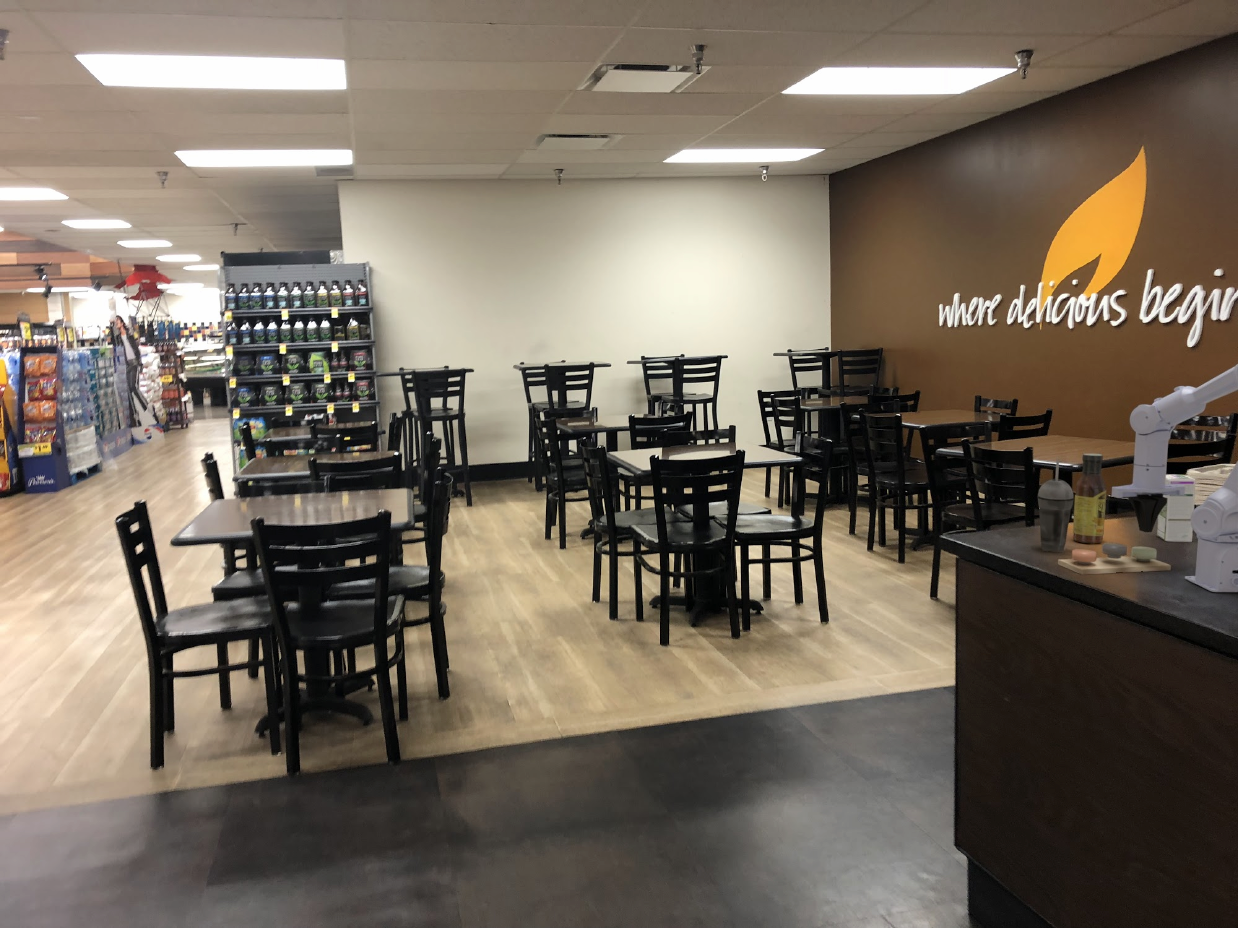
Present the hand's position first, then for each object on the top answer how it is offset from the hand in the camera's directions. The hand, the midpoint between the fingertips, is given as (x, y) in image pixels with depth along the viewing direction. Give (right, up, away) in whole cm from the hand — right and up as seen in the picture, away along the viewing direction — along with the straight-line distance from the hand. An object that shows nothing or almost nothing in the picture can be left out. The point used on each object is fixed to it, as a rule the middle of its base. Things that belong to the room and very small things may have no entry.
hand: (1145, 531), depth 188 cm
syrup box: (+20, -4, +24) cm, 31 cm away
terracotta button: (-13, -6, -1) cm, 14 cm away
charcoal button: (-6, -5, 0) cm, 8 cm away
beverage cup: (-12, -5, +15) cm, 20 cm away
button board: (-6, -7, 0) cm, 10 cm away
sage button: (0, -6, +1) cm, 6 cm away
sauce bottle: (0, -4, +23) cm, 23 cm away
